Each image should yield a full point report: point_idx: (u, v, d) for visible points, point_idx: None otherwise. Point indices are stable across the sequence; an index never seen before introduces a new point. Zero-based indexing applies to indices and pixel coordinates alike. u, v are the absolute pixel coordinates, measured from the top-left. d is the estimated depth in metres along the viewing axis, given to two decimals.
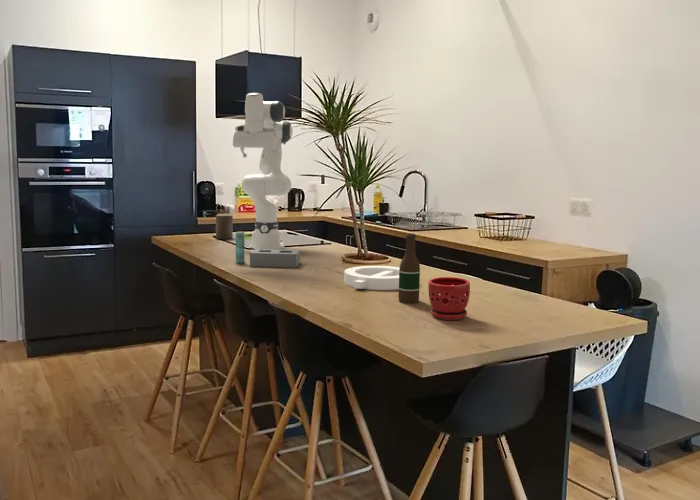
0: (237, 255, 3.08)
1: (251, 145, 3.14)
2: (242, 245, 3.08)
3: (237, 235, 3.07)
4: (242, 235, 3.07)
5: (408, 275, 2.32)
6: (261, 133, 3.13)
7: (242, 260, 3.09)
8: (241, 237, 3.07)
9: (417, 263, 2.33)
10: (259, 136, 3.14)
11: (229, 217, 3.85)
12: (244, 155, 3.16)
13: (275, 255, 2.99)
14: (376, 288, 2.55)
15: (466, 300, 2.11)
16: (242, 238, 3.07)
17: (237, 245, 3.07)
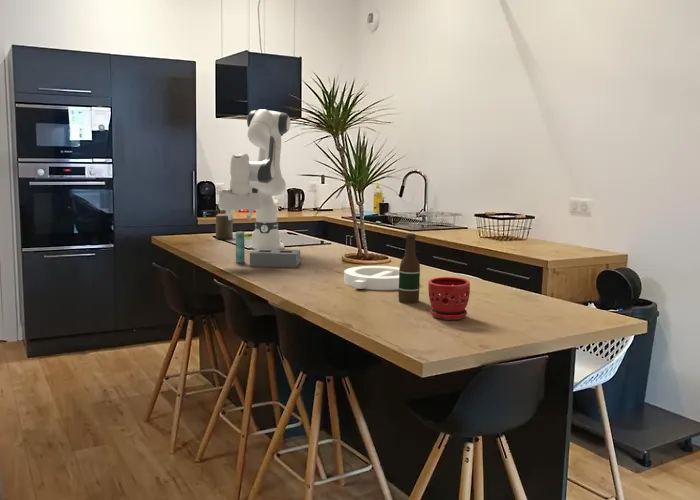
0: (237, 255, 3.08)
1: None
2: (242, 245, 3.08)
3: (237, 235, 3.07)
4: (242, 235, 3.07)
5: (408, 275, 2.32)
6: None
7: (242, 260, 3.09)
8: (241, 237, 3.07)
9: (417, 263, 2.33)
10: None
11: None
12: None
13: (275, 255, 2.99)
14: (376, 288, 2.55)
15: (466, 300, 2.11)
16: (242, 238, 3.07)
17: (237, 245, 3.07)
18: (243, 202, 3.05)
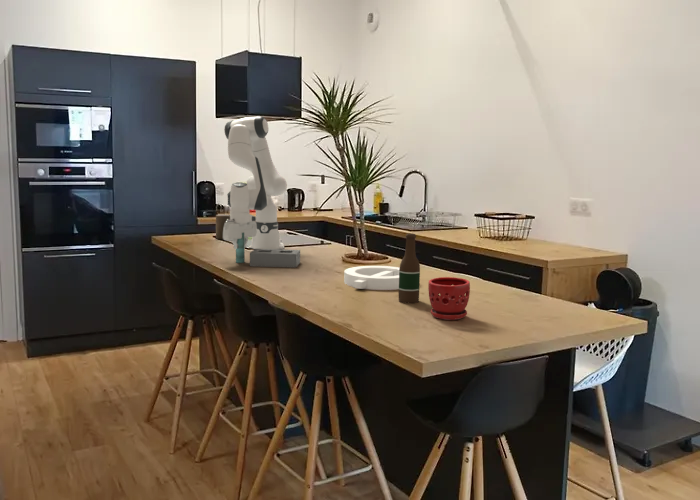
0: (237, 255, 3.08)
1: None
2: (242, 245, 3.08)
3: None
4: (242, 235, 3.07)
5: (408, 275, 2.32)
6: None
7: (242, 260, 3.08)
8: None
9: (417, 263, 2.33)
10: None
11: (229, 217, 3.85)
12: None
13: (275, 255, 2.99)
14: (376, 288, 2.55)
15: (466, 300, 2.11)
16: (242, 238, 3.07)
17: None
18: (244, 230, 3.08)
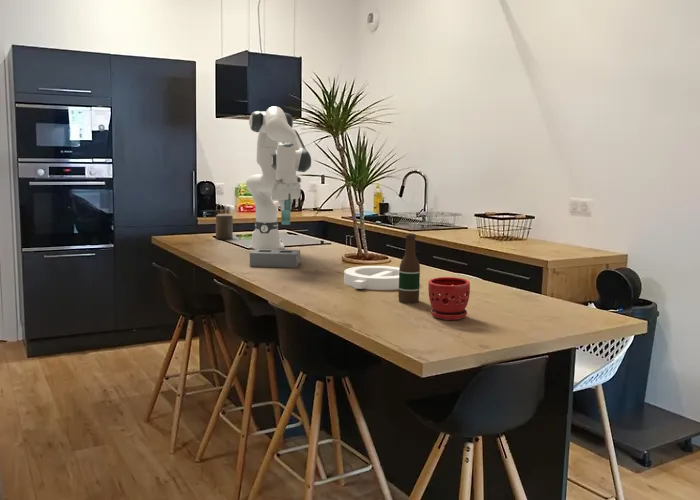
0: (283, 217, 3.01)
1: None
2: (288, 206, 3.01)
3: None
4: (289, 196, 3.00)
5: (408, 275, 2.32)
6: None
7: (288, 222, 3.02)
8: (288, 198, 3.00)
9: (417, 263, 2.33)
10: None
11: (229, 217, 3.85)
12: None
13: (275, 255, 2.99)
14: (376, 288, 2.55)
15: (466, 300, 2.11)
16: (289, 199, 3.00)
17: None
18: (290, 192, 3.01)
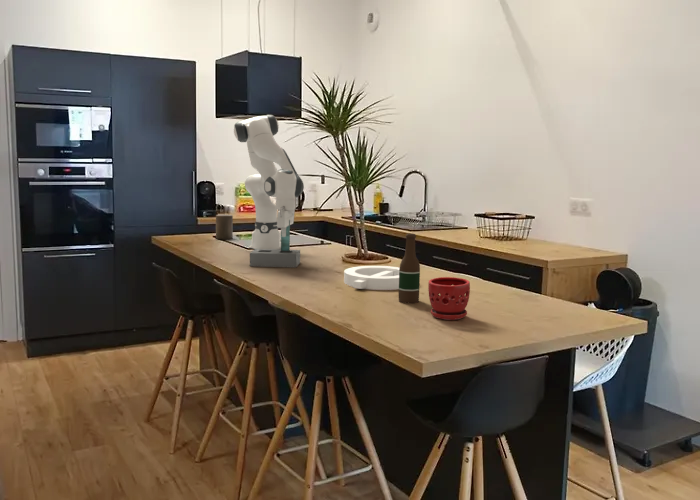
0: (284, 243, 3.02)
1: None
2: (289, 233, 3.03)
3: None
4: (289, 222, 3.02)
5: (408, 275, 2.32)
6: None
7: (288, 248, 3.04)
8: None
9: (417, 263, 2.33)
10: None
11: (229, 217, 3.85)
12: None
13: (275, 255, 2.99)
14: (376, 288, 2.55)
15: (466, 300, 2.11)
16: (289, 225, 3.03)
17: None
18: (289, 218, 3.04)
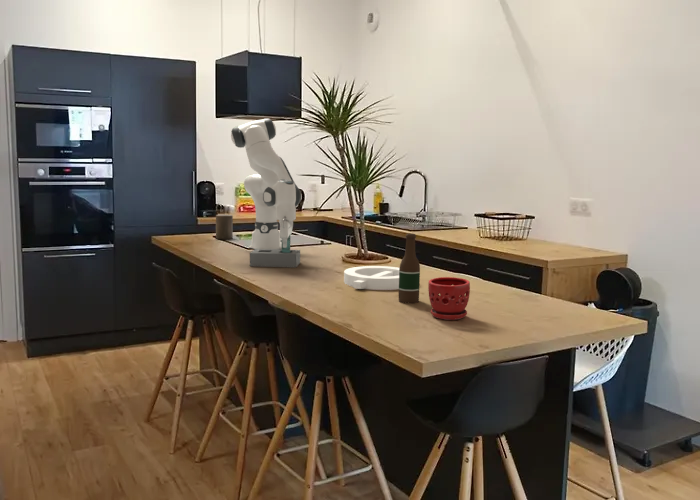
0: None
1: None
2: (289, 247, 3.04)
3: None
4: None
5: (408, 275, 2.32)
6: (281, 222, 3.00)
7: None
8: (289, 239, 3.03)
9: (417, 263, 2.33)
10: None
11: (229, 217, 3.85)
12: None
13: (275, 255, 2.99)
14: (376, 288, 2.55)
15: (466, 300, 2.11)
16: (289, 240, 3.04)
17: None
18: (290, 228, 3.05)
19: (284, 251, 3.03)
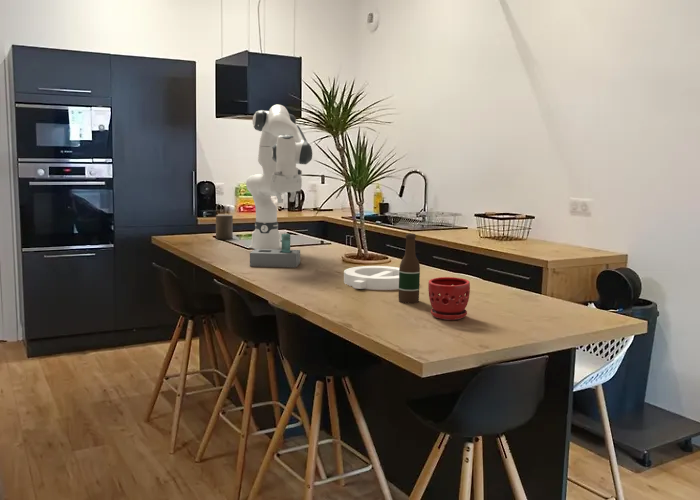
0: None
1: None
2: (289, 247, 3.04)
3: (285, 237, 3.02)
4: None
5: (408, 275, 2.32)
6: None
7: None
8: (289, 239, 3.03)
9: (417, 263, 2.33)
10: None
11: (229, 217, 3.85)
12: None
13: (275, 255, 2.99)
14: (376, 288, 2.55)
15: (466, 300, 2.11)
16: (289, 240, 3.04)
17: (285, 247, 3.03)
18: (290, 184, 3.01)
19: (284, 251, 3.03)
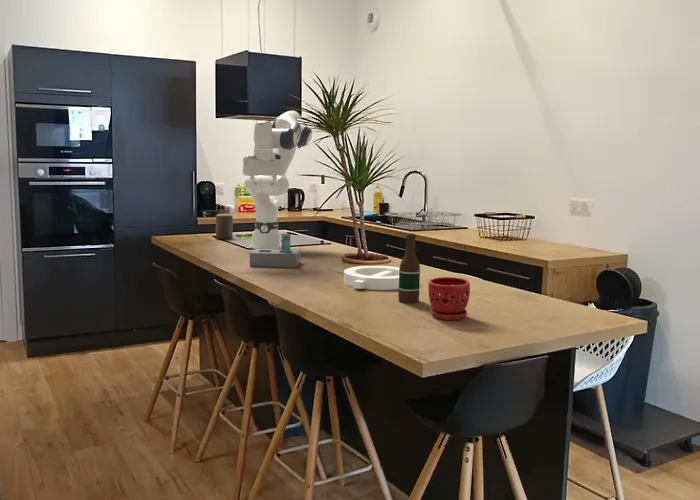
0: None
1: None
2: (289, 247, 3.04)
3: (285, 237, 3.02)
4: None
5: (408, 275, 2.32)
6: None
7: None
8: (289, 239, 3.03)
9: (417, 263, 2.33)
10: None
11: (229, 217, 3.85)
12: None
13: (275, 255, 2.99)
14: (375, 288, 2.55)
15: (466, 300, 2.11)
16: (289, 240, 3.04)
17: (285, 247, 3.03)
18: (267, 168, 3.12)
19: (284, 251, 3.03)
